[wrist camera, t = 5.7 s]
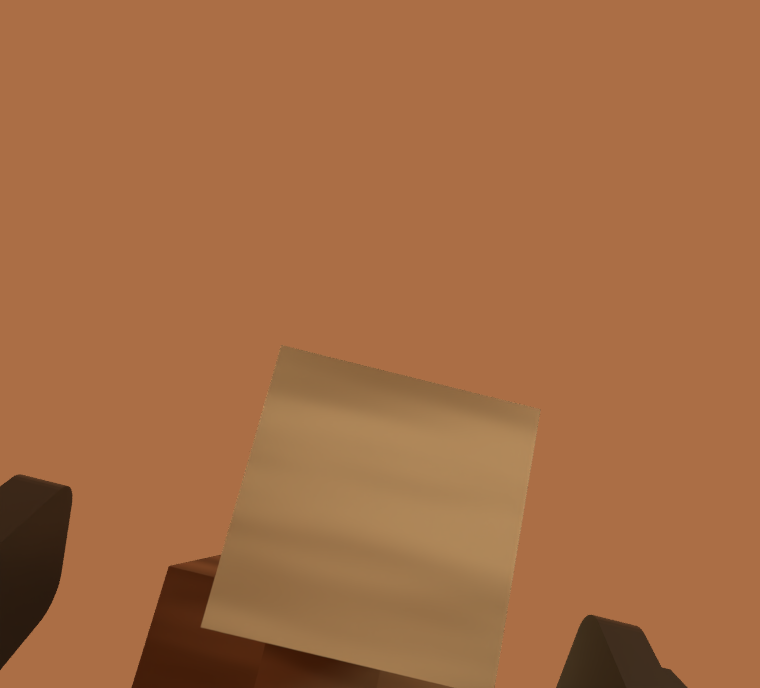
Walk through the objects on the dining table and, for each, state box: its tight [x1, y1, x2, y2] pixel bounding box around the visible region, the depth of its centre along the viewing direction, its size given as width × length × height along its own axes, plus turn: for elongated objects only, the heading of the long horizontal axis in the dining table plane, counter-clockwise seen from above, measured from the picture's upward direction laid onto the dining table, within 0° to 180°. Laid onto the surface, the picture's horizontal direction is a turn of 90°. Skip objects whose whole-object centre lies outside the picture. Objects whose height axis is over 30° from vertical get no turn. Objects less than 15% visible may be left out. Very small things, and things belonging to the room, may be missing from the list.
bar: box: [201, 345, 540, 688], centre depth 23 cm, size 24×5×5 cm, turn 5°
